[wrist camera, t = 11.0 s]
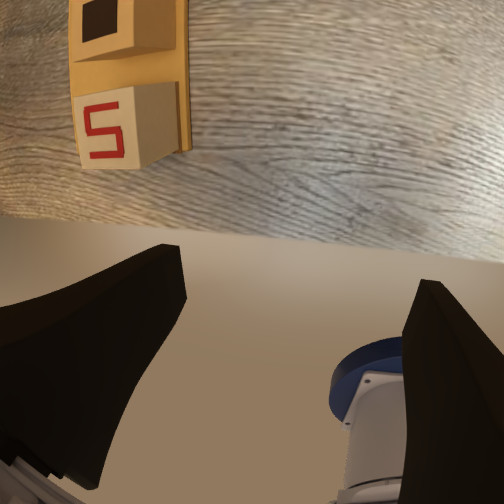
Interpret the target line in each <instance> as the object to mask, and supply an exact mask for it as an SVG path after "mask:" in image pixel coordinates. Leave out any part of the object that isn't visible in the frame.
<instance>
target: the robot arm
mask: <svg viewBox="0 0 504 504" xmlns="http://www.w3.org/2000/svg"><path fill="white" fill-rule="evenodd" d="M186 300H187V295H186V290H185V282H184V276H183V269H182V262H181V255H180V248H179V246H175V245H168V244H160V245H157V246H154V247H152V248H149V249H147V250H145V251H143V252H140V253H138V254H136V255H134V256H132V257H130V258H128V259H126V260H124V261H122V262H119V263H117V264H116V265H113V266H111V267H109V268H107V269H105V270H103V271H101V272H99V273H96V274H94V275H92V276H90V277H88V278H85V279H84V280H81V281H79V282H77V283H75V284H72V285H70V286H67V287H65V288H62V289H60V290H57V291H54V292H51V293H49V294H46V295H43V296H40V297H37V298H33V299H30V300H26V301H23V302H20V303H16V304H13V305H9V306H4V307H0V504H85V503H83V502H82V501H80V500H79V499H77V498H75V497H74V496H72V495H71V494H69V493H68V492H66V491H64V490H63V489H61V488H60V487H59V486H57V485H56V484H54V483H53V482H51V481H50V480H49V479H47V477H48V476H49V474H50V473H52V474H53V475H55V476H56V477H57V478H59V479H62V478H63V476H65V477H67V478H69V479H70V480H72V481H73V482H75V483H76V484H78V485H80V486H81V487H83V488H84V489H86V490H93V489H96V488H98V485H99V481H100V477H101V474H102V470H103V467H104V463H105V460H106V457H107V453H108V450H109V448H110V445H111V442H112V439H113V437H114V434H115V431H116V429H117V427H118V424H119V422H120V419H121V417H122V415H123V412H124V410H125V408H126V406H127V404H128V402H129V399H130V397H131V395H132V393H133V391H134V389H135V387H136V385H137V383H138V382H139V380H140V378H141V376H142V375H143V373H144V371H145V370H146V368H147V367H148V365H149V364H150V362H151V361H152V359H153V358H154V356H155V355H156V353H157V352H158V350H159V349H160V347H161V346H162V344H163V342H164V341H165V339H166V338H167V336H168V335H169V333H170V331H171V330H172V328H173V327H174V325H175V324H176V321H177V319H178V317H179V315H180V313H181V311H182V309H183V307H184V304H185V302H186ZM402 370H403V373H393V372H383V371H374V370H368V371H365V372H364V373H363V375H362V378H361V380H360V383H359V385H358V388H357V390H356V392H355V395H354V397H353V399H352V402H351V404H350V406H349V409H348V411H347V413H346V415H345V417H344V420H343V422H342V424H341V429H342V430H345V431H350V438H349V445H348V453H347V460H346V467H345V474H344V487H345V490H339V491H338V496H337V500H336V501H335V500H333V501H330V502H329V503H328V504H504V355H503V354H502V353H501V352H500V351H499V349H498V348H497V347H496V346H495V345H494V344H493V343H492V341H491V340H490V339H489V338H488V337H487V336H486V334H485V333H484V332H483V331H482V330H481V328H480V327H479V326H478V325H477V324H476V322H475V321H474V320H473V319H472V318H471V316H470V315H469V314H468V313H467V312H466V310H465V309H464V308H463V307H462V305H461V304H460V303H459V302H458V301H457V300H456V298H455V297H454V296H453V295H452V294H451V293H450V292H449V290H448V289H447V288H446V287H445V286H444V285H443V284H442V283H441V282H440V281H433V280H425V279H421V280H420V284H419V287H418V290H417V293H416V296H415V299H414V301H413V304H412V307H411V310H410V313H409V315H408V318H407V321H406V323H405V326H404V329H403V331H402ZM367 379H368V380H367Z"/></svg>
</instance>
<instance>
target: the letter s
mask: <svg viewBox="0 0 504 504" xmlns="http://www.w3.org/2000/svg"><path fill="white" fill-rule="evenodd" d="M73 102H74V112H75V122H76V130H77V138H78V145H79V152H80V159H81V165H82V169H83V170H85V169H142V168H144V167H146V166H147V165H149V164H151V163H153V162H155V161H157V160H159V159H161V158H163V157H165V156H167V155H169V154H171V153H173V152H175V151H177V150H178V149H179V144H178V129H177V111H176V89H175V82H174V81H173V82H162V83H153V84H144V85H136V86H129V87H123V88H117V89H111V90H106V91H101V92H96V93H91V94H86V95H81V96H77V97H74V98H73Z"/></svg>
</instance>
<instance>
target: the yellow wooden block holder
mask: <svg viewBox="0 0 504 504" xmlns="http://www.w3.org/2000/svg"><path fill="white" fill-rule="evenodd" d="M68 42H69V74H70V89H71V102H72V112H73V122H74V130H75V138H76V145H77V152H78V154H80V152H79V145H78V138H77V130H76V122H75V112H74V102H73V98H74V97H77V96H81V95H86V94H91V93H96V92H101V91H106V90H111V89H117V88H123V87H129V86H136V85H144V84H153V83H162V82H173V81H174V82H175V89H176V111H177V129H178V144H179V149H178V150H177V151H175V152H173V153H182V151H190V150H192V142H191V122H190V99H189V67H188V0H69V28H68Z"/></svg>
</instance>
